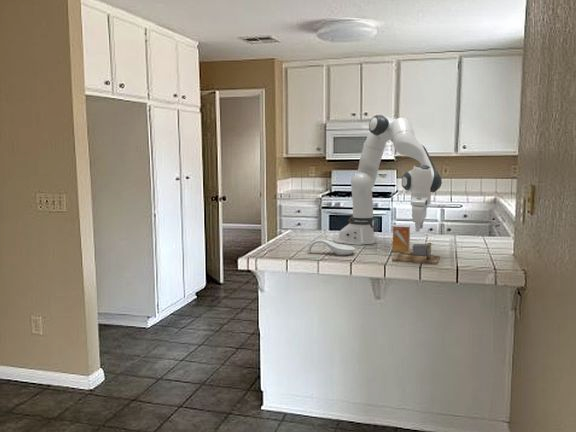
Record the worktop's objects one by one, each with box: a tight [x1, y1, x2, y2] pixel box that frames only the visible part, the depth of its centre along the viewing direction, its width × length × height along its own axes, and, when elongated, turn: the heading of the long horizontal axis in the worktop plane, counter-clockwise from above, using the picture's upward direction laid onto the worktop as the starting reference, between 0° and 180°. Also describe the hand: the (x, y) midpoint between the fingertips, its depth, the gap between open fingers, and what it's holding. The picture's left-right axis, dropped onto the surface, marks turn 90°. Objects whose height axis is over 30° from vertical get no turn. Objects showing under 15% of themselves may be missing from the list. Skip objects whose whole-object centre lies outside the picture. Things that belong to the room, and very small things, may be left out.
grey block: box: [412, 243, 427, 256], centre depth 242 cm, size 6×5×6 cm
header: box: [391, 242, 441, 265], centre depth 243 cm, size 20×15×8 cm
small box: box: [392, 224, 411, 253], centre depth 264 cm, size 8×6×13 cm
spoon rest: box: [307, 239, 356, 256], centre depth 258 cm, size 24×12×7 cm, turn 80°
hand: (419, 229), depth 241 cm, fingers open, 8 cm apart
